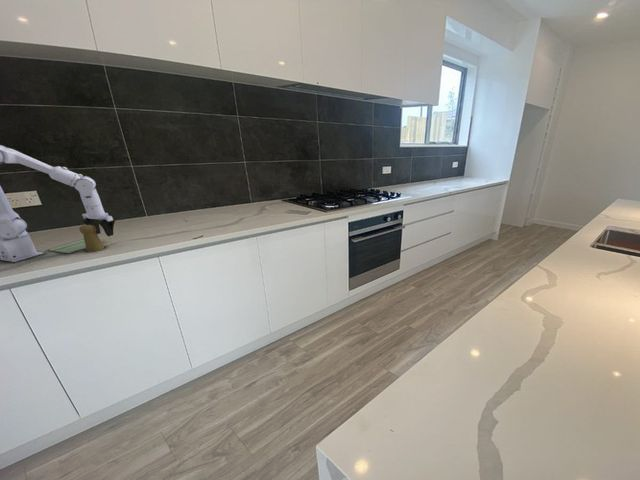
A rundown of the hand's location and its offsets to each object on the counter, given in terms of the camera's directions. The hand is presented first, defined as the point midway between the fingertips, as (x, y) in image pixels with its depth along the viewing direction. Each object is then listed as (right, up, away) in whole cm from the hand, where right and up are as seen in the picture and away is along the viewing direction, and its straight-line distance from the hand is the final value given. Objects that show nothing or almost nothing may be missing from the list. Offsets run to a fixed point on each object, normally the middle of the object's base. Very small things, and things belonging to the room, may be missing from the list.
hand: (104, 234), depth 136 cm
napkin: (-12, -5, 0) cm, 13 cm away
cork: (-1, -7, -3) cm, 7 cm away
